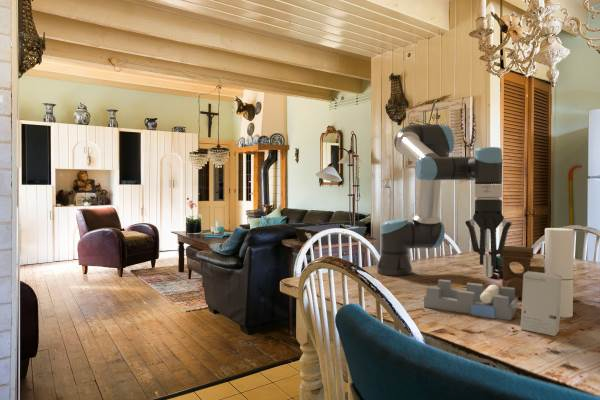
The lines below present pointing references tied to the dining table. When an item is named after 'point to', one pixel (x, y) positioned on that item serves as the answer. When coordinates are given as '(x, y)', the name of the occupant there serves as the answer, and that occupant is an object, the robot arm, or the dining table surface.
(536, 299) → the skincare box
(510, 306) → the grey notched frame
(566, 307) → the cylindrical container
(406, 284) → the dining table surface
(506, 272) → the wooden toy train
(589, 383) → the dining table surface
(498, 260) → the binoculars
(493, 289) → the cream round-ended rod
